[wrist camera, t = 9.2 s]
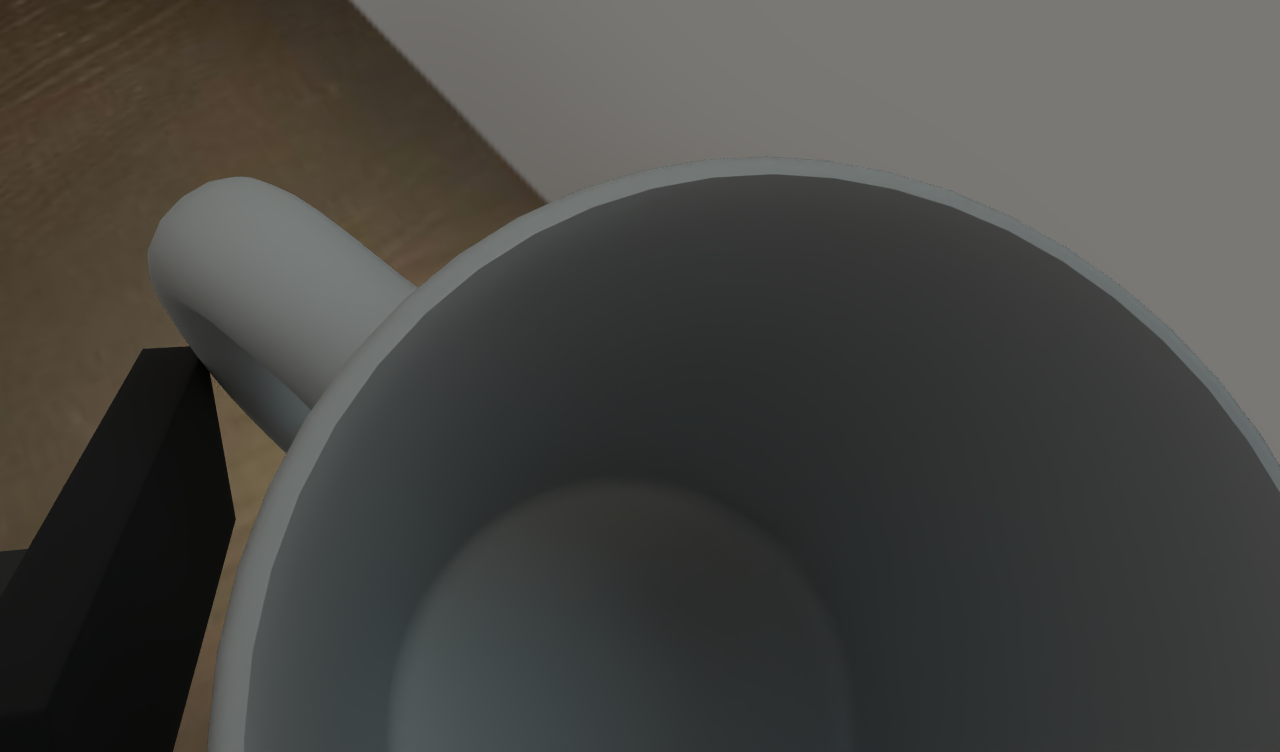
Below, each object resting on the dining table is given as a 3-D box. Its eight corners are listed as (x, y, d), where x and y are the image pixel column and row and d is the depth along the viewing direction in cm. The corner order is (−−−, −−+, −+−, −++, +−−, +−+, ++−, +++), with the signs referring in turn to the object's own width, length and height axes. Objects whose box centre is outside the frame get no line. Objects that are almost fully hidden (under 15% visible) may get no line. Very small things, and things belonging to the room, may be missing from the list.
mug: (941, 673, 18) (1563, 601, 8) (655, 1128, 15) (1071, 1974, 5) (449, 264, 19) (434, -267, 9) (87, 608, 16) (-566, 396, 6)
